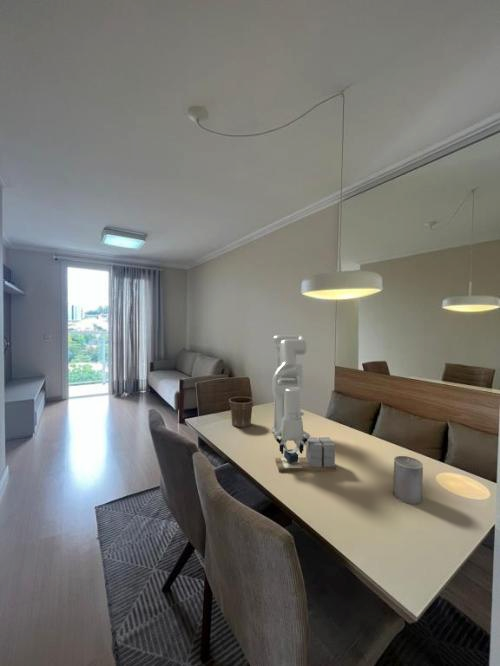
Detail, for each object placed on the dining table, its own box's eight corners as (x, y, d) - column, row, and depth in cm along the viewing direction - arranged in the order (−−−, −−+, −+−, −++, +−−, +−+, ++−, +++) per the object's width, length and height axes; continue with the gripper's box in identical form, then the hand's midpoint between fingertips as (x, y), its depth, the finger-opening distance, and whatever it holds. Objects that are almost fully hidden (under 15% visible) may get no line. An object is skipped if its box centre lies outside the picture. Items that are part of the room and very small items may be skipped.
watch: (301, 460, 130) (302, 436, 129) (285, 463, 127) (286, 439, 126) (296, 455, 135) (296, 432, 134) (280, 457, 132) (281, 434, 132)
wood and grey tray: (275, 461, 135) (275, 437, 135) (328, 460, 137) (329, 436, 137) (279, 472, 125) (279, 446, 125) (336, 470, 127) (337, 445, 127)
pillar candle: (396, 486, 116) (397, 450, 115) (424, 495, 110) (425, 457, 109) (390, 497, 108) (391, 459, 108) (419, 508, 102) (420, 467, 101)
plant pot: (225, 421, 188) (225, 397, 187) (247, 418, 195) (247, 395, 194) (234, 430, 173) (234, 404, 173) (257, 426, 180) (258, 401, 179)
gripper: (308, 412, 134) (307, 448, 135) (272, 412, 133) (271, 449, 134) (313, 417, 127) (312, 456, 128) (274, 417, 126) (273, 456, 126)
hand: (291, 452), depth 131 cm, fingers closed on watch, 8 cm apart
